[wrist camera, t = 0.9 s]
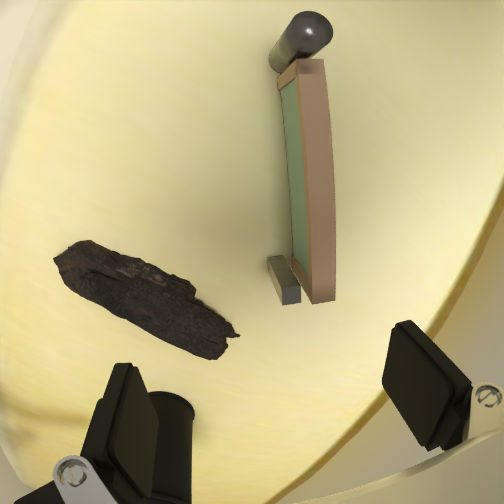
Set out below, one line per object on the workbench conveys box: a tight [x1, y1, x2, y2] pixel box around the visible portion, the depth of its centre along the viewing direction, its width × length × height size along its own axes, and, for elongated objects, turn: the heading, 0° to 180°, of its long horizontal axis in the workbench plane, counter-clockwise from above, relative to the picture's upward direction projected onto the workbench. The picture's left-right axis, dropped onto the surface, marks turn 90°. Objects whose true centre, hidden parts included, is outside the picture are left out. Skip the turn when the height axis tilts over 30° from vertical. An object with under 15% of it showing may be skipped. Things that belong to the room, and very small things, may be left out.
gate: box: [277, 59, 336, 304], centre depth 25 cm, size 2×19×7 cm, turn 6°
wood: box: [53, 240, 240, 360], centre depth 30 cm, size 22×7×3 cm, turn 56°
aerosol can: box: [146, 392, 195, 504], centre depth 28 cm, size 8×8×20 cm
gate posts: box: [268, 11, 333, 305], centre depth 24 cm, size 3×23×9 cm, turn 0°
